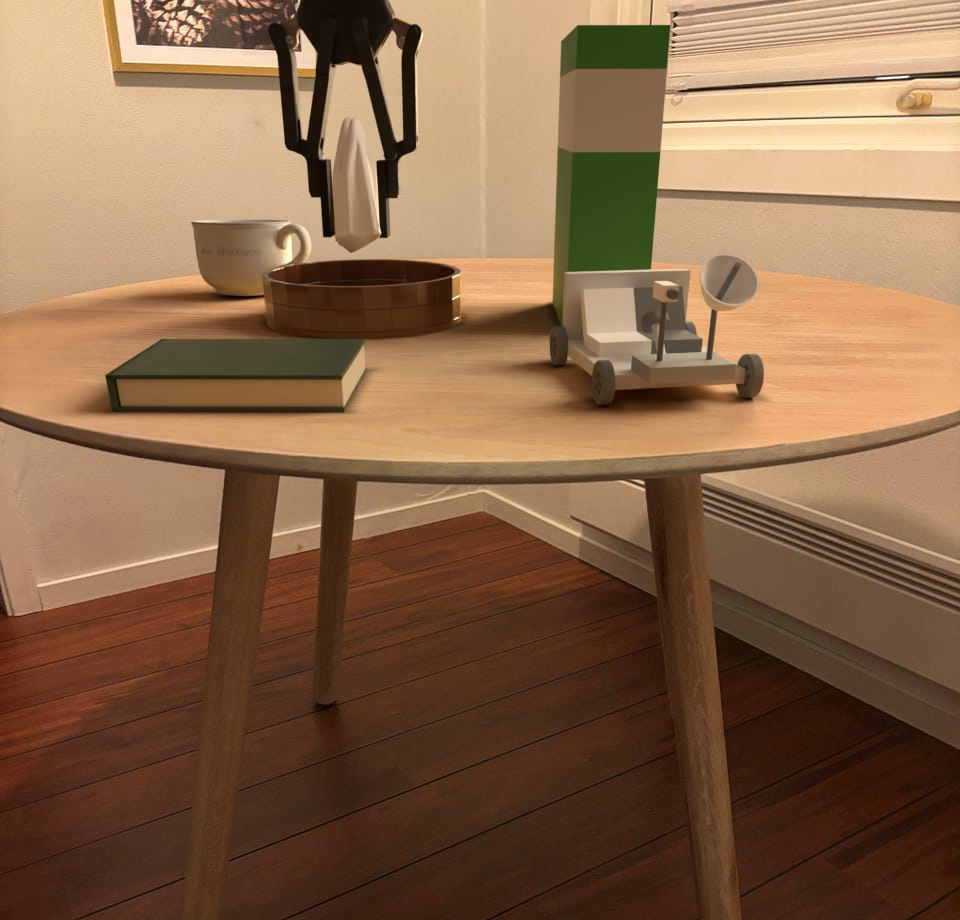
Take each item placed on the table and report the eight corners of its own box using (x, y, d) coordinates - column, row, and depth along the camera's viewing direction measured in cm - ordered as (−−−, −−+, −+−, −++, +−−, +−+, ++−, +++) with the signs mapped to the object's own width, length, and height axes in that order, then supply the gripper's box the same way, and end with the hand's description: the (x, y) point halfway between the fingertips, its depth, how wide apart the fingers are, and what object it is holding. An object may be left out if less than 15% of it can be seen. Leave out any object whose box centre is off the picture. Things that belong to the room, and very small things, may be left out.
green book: (111, 411, 65) (104, 374, 64) (166, 371, 75) (161, 338, 74) (344, 412, 64) (341, 375, 63) (366, 371, 75) (364, 338, 74)
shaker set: (382, 256, 86) (377, 117, 81) (335, 256, 86) (328, 117, 80) (376, 241, 96) (371, 117, 91) (334, 241, 96) (327, 116, 91)
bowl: (246, 339, 86) (240, 287, 84) (288, 303, 103) (284, 259, 101) (456, 339, 86) (456, 287, 83) (464, 303, 102) (464, 258, 100)
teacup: (181, 296, 107) (170, 219, 103) (252, 284, 115) (244, 212, 111) (268, 308, 100) (259, 226, 96) (337, 294, 108) (332, 218, 104)
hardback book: (552, 302, 102) (561, 41, 91) (620, 302, 102) (638, 40, 91) (565, 335, 87) (577, 25, 75) (645, 335, 87) (670, 24, 75)
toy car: (801, 257, 59) (624, 261, 57) (778, 412, 64) (613, 421, 62) (694, 228, 75) (552, 231, 73) (682, 355, 80) (548, 360, 78)
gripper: (225, -73, 76) (256, 239, 87) (444, -72, 76) (447, 241, 87) (247, -58, 83) (273, 230, 94) (449, -57, 82) (451, 233, 94)
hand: (357, 235), depth 90 cm, fingers closed on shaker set, 5 cm apart
